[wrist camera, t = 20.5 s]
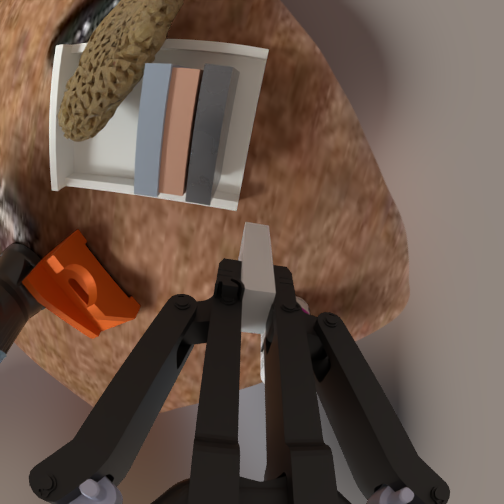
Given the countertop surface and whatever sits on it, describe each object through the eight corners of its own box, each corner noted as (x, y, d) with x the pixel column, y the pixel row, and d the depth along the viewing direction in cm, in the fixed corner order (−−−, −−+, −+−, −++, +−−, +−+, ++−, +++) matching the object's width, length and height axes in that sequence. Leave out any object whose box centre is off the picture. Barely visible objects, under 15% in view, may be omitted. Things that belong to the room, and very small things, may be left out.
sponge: (110, 156, 30) (211, 15, 17) (48, 147, 24) (122, -22, 11) (115, 88, 33) (196, -25, 20) (66, 77, 28) (137, -49, 15)
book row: (163, 166, 36) (133, 193, 27) (175, 67, 29) (145, 63, 20) (200, 171, 36) (181, 200, 28) (216, 71, 29) (199, 65, 21)
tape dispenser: (44, 256, 46) (21, 282, 39) (79, 227, 42) (53, 254, 35) (100, 321, 54) (85, 351, 47) (141, 304, 51) (126, 337, 44)
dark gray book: (201, 175, 36) (185, 201, 28) (218, 69, 29) (204, 63, 21) (220, 178, 36) (209, 205, 29) (239, 72, 29) (233, 66, 21)
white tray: (71, 177, 37) (51, 190, 33) (78, 47, 27) (56, 45, 22) (238, 200, 39) (235, 218, 35) (268, 53, 29) (269, 46, 24)
